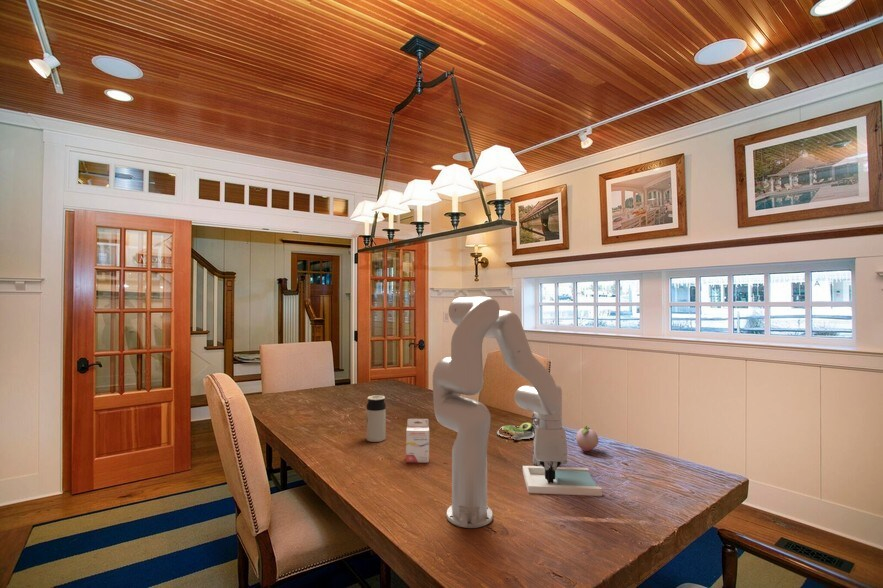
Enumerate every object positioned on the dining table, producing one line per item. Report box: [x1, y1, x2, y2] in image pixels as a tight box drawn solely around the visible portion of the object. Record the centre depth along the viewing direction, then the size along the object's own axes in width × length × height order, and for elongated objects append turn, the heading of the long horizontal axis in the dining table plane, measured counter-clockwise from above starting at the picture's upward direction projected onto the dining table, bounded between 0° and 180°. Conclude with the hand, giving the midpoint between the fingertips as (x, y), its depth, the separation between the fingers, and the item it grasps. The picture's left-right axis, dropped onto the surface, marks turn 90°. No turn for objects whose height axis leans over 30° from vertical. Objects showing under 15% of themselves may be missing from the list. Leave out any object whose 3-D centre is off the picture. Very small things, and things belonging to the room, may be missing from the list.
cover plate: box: [555, 470, 599, 487], centre depth 135 cm, size 12×11×2 cm
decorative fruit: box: [575, 425, 599, 452], centre depth 167 cm, size 9×8×10 cm
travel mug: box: [366, 394, 387, 443], centre depth 181 cm, size 8×8×18 cm
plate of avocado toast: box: [496, 421, 535, 441], centre depth 187 cm, size 19×18×5 cm
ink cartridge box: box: [405, 418, 430, 463], centre depth 157 cm, size 9×5×15 cm, turn 92°
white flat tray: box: [522, 465, 603, 497], centre depth 135 cm, size 16×22×3 cm
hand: (550, 481), depth 135 cm, fingers closed
